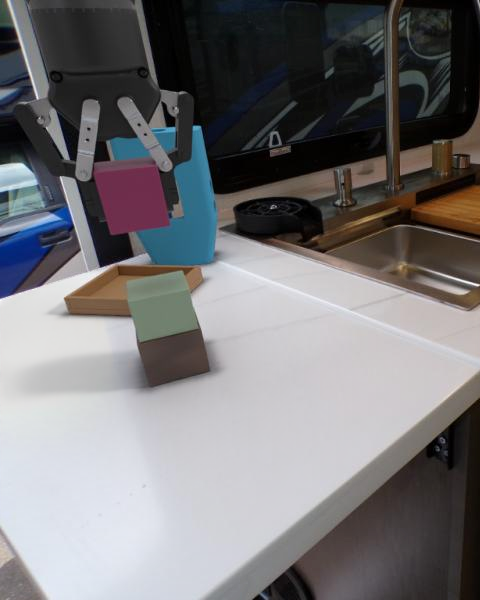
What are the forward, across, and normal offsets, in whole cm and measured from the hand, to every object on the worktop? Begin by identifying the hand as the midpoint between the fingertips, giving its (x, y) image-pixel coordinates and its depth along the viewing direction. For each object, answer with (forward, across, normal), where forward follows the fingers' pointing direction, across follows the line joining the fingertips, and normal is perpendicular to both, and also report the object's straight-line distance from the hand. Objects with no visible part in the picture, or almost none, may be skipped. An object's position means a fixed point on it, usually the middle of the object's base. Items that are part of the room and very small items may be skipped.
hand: (137, 213), depth 49 cm
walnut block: (+17, 0, 0) cm, 17 cm away
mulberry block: (+1, 0, 0) cm, 1 cm away
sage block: (+12, 0, 0) cm, 12 cm away
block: (+17, -5, -32) cm, 36 cm away
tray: (+17, +3, -21) cm, 27 cm away
